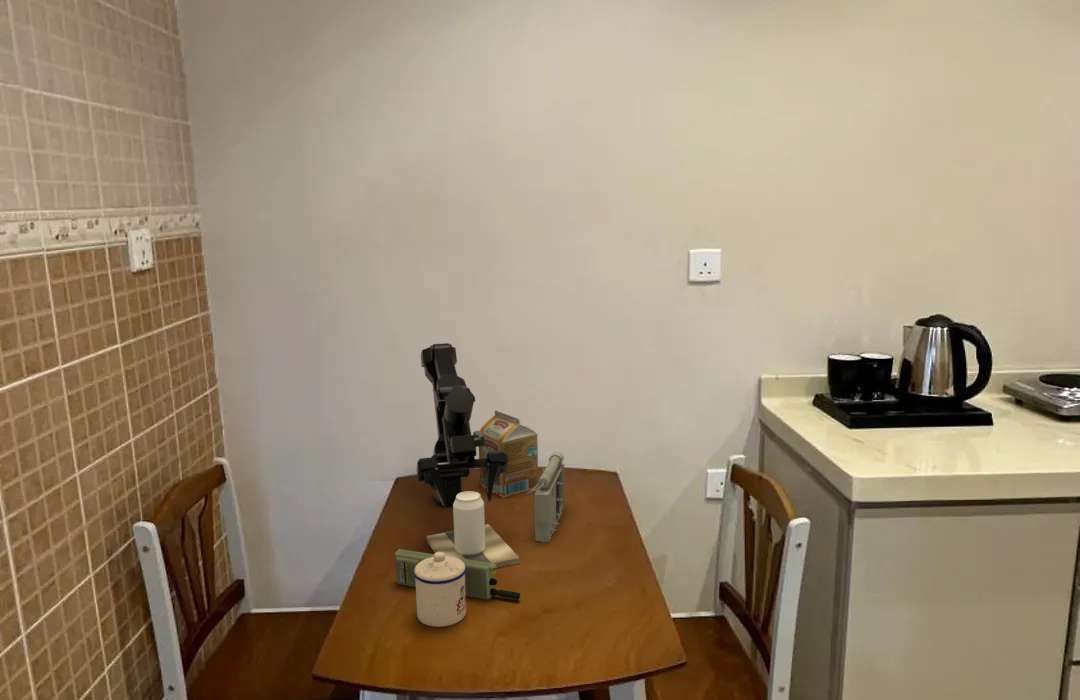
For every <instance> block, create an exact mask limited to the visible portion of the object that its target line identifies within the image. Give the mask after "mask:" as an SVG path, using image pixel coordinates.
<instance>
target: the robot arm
mask: <svg viewBox="0 0 1080 700" xmlns="http://www.w3.org/2000/svg"><path fill="white" fill-rule="evenodd" d="M457 363H458V359H457V348H456V347H455V346H452V343H449V342H447V343H443V342H442V343H433V344H430V346H429V347H427V348H424V349H422V350H421V352H420V364H421V367H422V368H424V369H423V370H424V376H425V378H426V379H428V381H429V382H430V383H431V385H432V391H433V403H434V412H435V420H436V429H437V431H436V432H437V438H438V439H437V440H436V442H435V445H434V447H433V451H432V453H433V455H431V456H430V457H424V458H423V457H422V458H421V457H420V458H419V459H418V460H417V461H416V476H417V477H416V479H417V481H419V482H423V483H424V485H429V486H430V487H431V488H432V490H433V491H434V493H435V494H434V496H433V498H434V500H435V501H436V502H437V503H438V504H439V505H440V506H441V507H443V508H446V507H447V506H453V503H454V501H455V499H456V495H457V494H459V493H461V492H463V486H462V485H463V484H462V480H463V479H462V478H468V477H469V475H470V470H474V469H479V468H486V470H487V474H486V483H487V489H486V497H487V501H488V503H491V501H492V494H493V492H492V490H493V484H494V480H495V477H499V476H500V474H501V473H504V472H505V471H506V467H507V464H508V457H507V454H506V453H505V452H504V451H494V452H488V454H487V458H483V459H479V458H476V456H477V453H478V452H477V448H479V447H482V446H484V445H485V442H484V434H483V430H482V431H480V430H474V431H473V434H472V431H471V424H470V421H471V418H472V413H473V409H474V408H473V407H474V403H475V402H476V396H475V395H474V393H473V392H472V390H471V389H470V387H468V386H467V384H466V381H465V379H464V378H462V377H460V376H459V375H458V371H457V370H456V369H457V368H456V365H457Z"/></svg>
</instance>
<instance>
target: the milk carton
mask: <svg viewBox="0 0 1080 700" xmlns="http://www.w3.org/2000/svg"><path fill="white" fill-rule="evenodd" d="M482 430H483V434H484V442H485V445H484V446H482V447H478V459H483V458H487V454H488V452H494V451H504V452H505V453H506V454H507V457H508V464H507V467H506V471H505V472H504V473H501V474H500V476H499V477H495V480H494V484H493V491H495V492H497V493H498V494H501V495H503V496H505V495H509V494H512V493H515V492H519V491H522V490H526V489H529V488H532V487H535V486H536V485H537V484H538V481H539V456H538V455H539V451H538V450H539V449H538V448H539V446H538V443H539V442H538V433H537V432H536V431H535V430H533V429H532V428H530V427H527V426H525V425H523V424H521V419H520V418H519V417H517V416H515V415H511V414H509V413H506V412H503V411H500V410H498V409H495V410H494V415H493V416H492V417H491V418H490V419H489V420H487V421H486V423H484V425H483V426H481V428H480V429H479V431H482ZM478 470H479V485H480V484H481V485H484V486H485V487H487V483H486V474H487V470H486V468H478Z"/></svg>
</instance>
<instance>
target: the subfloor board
mask: <svg viewBox="0 0 1080 700" xmlns="http://www.w3.org/2000/svg"><path fill="white" fill-rule="evenodd" d="M426 542H427V544H428V545H429V546H430V548H431V549H432V551H433V550H434V551H433V552H434V554H435V553H436V552H443V553H444V554H445V556H451V557H455V558H461V559H467V560H474V561H481V562H487V563H493V564H496V566H495V567H494V568H495V569H499V568H498V567H500V568H503V566H504V567H507V566H508V565H509V566H513V565H517V564H520V557H519V555H518V554H517V553H516V552H515V551H514V550H513V549H512V548H511V547H510V546H509V544H508V543H506V542H505V541H504V540H503V538H502V537H501V536H500V535H499V534H498V533H497V532H496V531H495V529H494V528H493V527H492V526H490V524H488V523H487V524H485V549H484V550H483V551H481V552H480V553H479V554H477V555H473V556H465V555H462V554H460V553H458V552H457V551H456V550H455V539H454V529H452V530H448V531H444V532H442V533H436V534H431V535H426ZM494 568H492V569H493V570H495V569H494Z"/></svg>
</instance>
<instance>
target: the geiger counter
mask: <svg viewBox="0 0 1080 700" xmlns="http://www.w3.org/2000/svg"><path fill="white" fill-rule="evenodd" d="M564 459H565V456H564V454H563V452H561V451H557V450H556V451H553V452H552V454H551V455H550V456H549V459H548V463H547V465H546V467H544V468H542V474H541V475H540V477H539V478H538V484H537V485H536V486H535V487H534V488H533V489H532V490H529V491H527V493H526V494H525V496H526V497H528V496H530V495H531V494H532V493H533V492H535V493H534V514H535V515H534V522H535V523H534V529H535V530H534V533H535V535H534V537H535V538H534V539H535V542H538V541H540V543H550V541H551V539H552V537H553V535H552V534H554V532H557V531H558V530H557V529H556V528H555V527H557V526H558V525H561V524H560V523H559V521H560V519H559V518H561V516H562V515H563V514H564V513H563V512H561V511H562V508H563V506H566V505H565V502H566V501H565V499H566V498H565V488H566V487H565V485H566V484H565V463H563V462H564ZM537 487H538V488H537ZM561 513H562V514H561ZM560 515H561V516H560ZM558 520H559V521H558ZM551 536H552V537H551Z"/></svg>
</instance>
